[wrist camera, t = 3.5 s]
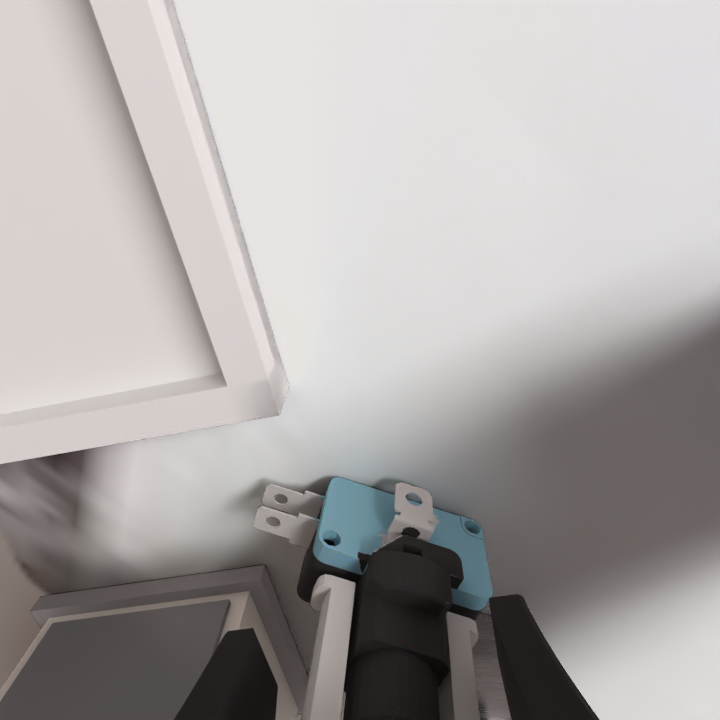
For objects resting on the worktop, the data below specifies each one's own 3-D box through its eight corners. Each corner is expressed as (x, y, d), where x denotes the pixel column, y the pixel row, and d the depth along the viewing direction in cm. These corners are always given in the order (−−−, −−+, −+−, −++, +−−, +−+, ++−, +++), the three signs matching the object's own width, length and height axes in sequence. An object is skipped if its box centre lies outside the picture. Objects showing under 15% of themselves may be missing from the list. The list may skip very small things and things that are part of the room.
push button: (250, 539, 16) (39, 1096, 7) (293, 405, 13) (57, 986, 4) (445, 600, 16) (491, 1201, 7) (519, 481, 14) (729, 1151, 5)
